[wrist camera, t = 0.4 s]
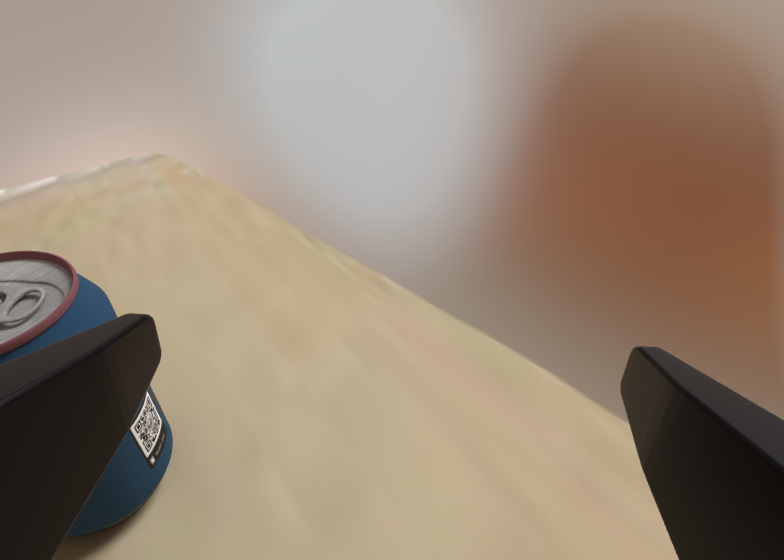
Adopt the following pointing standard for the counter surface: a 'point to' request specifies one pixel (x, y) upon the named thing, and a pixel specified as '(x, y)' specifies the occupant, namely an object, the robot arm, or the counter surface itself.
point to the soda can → (57, 322)
